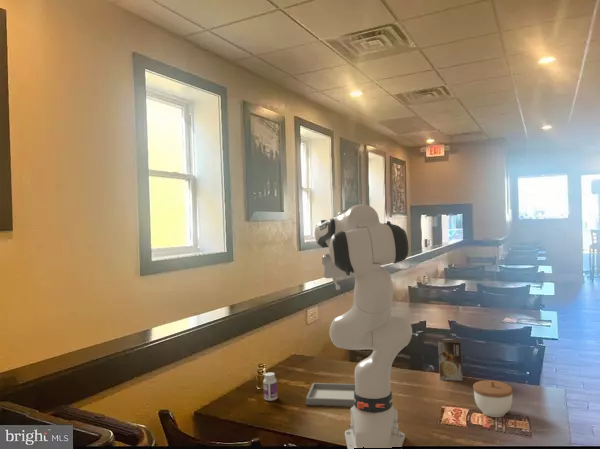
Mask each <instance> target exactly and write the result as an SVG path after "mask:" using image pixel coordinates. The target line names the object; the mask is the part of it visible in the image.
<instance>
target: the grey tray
mask: <svg viewBox="0 0 600 449" xmlns="http://www.w3.org/2000/svg"><path fill="white" fill-rule="evenodd" d="M354 391H355V383H331V382H329V383H326V382H323V383H322V382H312V384H311V386H310V389H309V390H308V393H307V395H306V398H305V405H306V406H320V405H322V407H323V406H327V407H346V408H347V407H350V408H352V407H353V406H354Z"/></svg>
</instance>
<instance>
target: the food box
mask: <svg viewBox="0 0 600 449" xmlns="http://www.w3.org/2000/svg"><path fill="white" fill-rule="evenodd" d="M437 340H438V341H437V343H438V344H437V346H438V349H437V350H438V366H439V368H438V369H439V371H438V372H439V380H440V381H458V382H459V381H460V382H463V380H464V379H463V364H462V362H463V361H462V348H461V345H462V344H461V338H448V337H447V338H446V337H445V338H443V337H441V338H440V337H438V338H437Z"/></svg>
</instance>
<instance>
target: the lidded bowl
mask: <svg viewBox="0 0 600 449" xmlns="http://www.w3.org/2000/svg"><path fill="white" fill-rule="evenodd" d="M472 387H473V396H474V402H475V404H476V406H477V408H478V409H479V410H480V411H481V412H482V414H483V415H484V416H487V417H491V418H502V417H504V416H505V414H507V413H508V412H509V411H510V409H511V407H512V405H513V392H514V391H513V387H512V386H511V385H509V384H507V383H505V382H502V381H498V380H479V381H476V382H475V383H473V385H472Z"/></svg>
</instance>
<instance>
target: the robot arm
mask: <svg viewBox="0 0 600 449" xmlns="http://www.w3.org/2000/svg"><path fill="white" fill-rule="evenodd" d="M379 217H380V216H379V214H378V212H377V211H376V209H375V208H374V207H372V206H371V205H368V204H364V203H363V204H362V203H361V204H355V205H352V206H350V208H348V209H346V210H345V209H344V210H341V211H339V212H338V213H337V215H336V216H335V217H332V218H330V219H321V220H320V221H318V222H317V223H316V225H315V228H314V238H315V241H316V244H317V245H319V247H321V248H328V252H329V253H325V254H324V255H323V256H322V258H321V261H322V262H321V264H322V265H323V271H322V273H323V274H322V275H323V277H324V278H325V279H332V282H333V283H334V285H335V290H336V291H341V284H338V283H337V281H338V279H340V278H341V279H345V278H354V281H355V282H354V288H353V302H352V307H351V308H350V309H349V310H347V311H346V312H345V313H343V314H341V315H339V316H336V317H334V318H333V320H332V321H331V323H330V325H329V326H330V327H329V331H328V332H329V338H330V340H331V342H332V344H333V345H334V346H335V347H336V348H338V349H342V350H343V349H344V350H350V351H358V350H359V351H360V350H362V351H363V350H372V353H371V354H370V355H369V356H368V357H366V358H364V359H362V360H360V361H359V362H358V363H357V365H356V366H355V368H354V384H355V391H354V406H353V407H350V424H349V426H348V427H349V429H346V430H345V431H344V439H345V444H346V448H347V449H354V448H363V447H364V448H392V447H402V448H403V445H404V441H405V439H406V436H405V433H403V431H400V428H399V421H400V420H399V418H398V410H397V408H395V407H394V406H393V392H392V391H391V372H392V371H391V370H392V367H393V366H392V365H393V363H394V360H395V358H396V357H397V355H399V353H400V352H401V351H402V350H403V349H404V348H406V347H407V346H408V345H409V344H410V342H411V340H412V336H413V327H412V324H411V321H409V319H408V318H407V317H406V315H404V314H403V315H402V314H397V313H392V307H393V298H394V288H393V286H394V285H393V281H392V277H391V274H390V273H389V271H388V270H387V269H385V267H383V266H384V265H385V266H386V265H389V264H390V265H391V264H398V263H401V262H403V261H405V260H406V259H407V258H408V256H409V252H410V240H409V237H408V235H407V232H406V230H405V229H404V228H402V227H400V226H399V225H397V224H393V223H391V221H390V220H387V221H386V223H385V222H384V223H382V222H380V218H379Z"/></svg>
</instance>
